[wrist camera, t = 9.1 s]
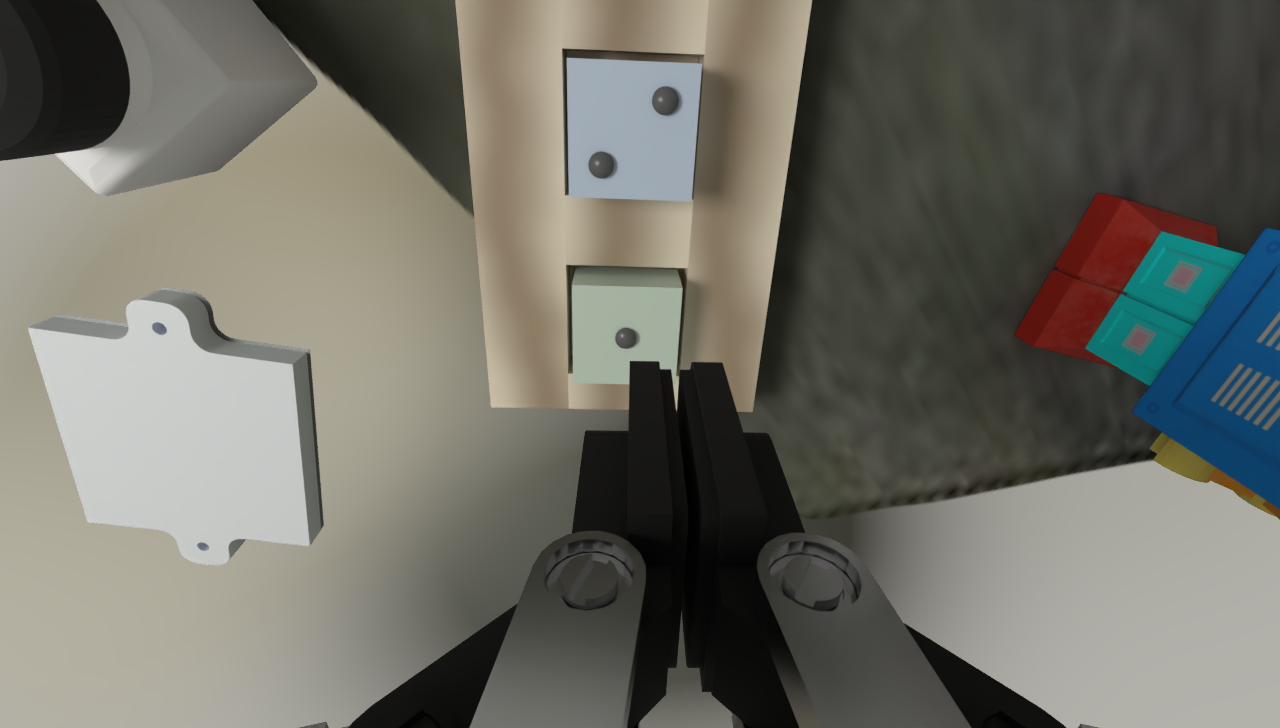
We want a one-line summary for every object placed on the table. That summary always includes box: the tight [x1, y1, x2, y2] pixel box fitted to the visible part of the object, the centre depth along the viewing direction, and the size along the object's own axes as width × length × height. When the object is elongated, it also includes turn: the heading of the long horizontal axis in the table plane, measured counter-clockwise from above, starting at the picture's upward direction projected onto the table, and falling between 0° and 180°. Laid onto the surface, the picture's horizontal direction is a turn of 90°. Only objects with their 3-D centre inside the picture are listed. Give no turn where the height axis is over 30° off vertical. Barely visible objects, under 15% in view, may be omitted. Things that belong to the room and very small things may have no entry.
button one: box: [572, 266, 683, 385], centre depth 28 cm, size 5×5×3 cm
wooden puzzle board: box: [455, 0, 812, 412], centre depth 26 cm, size 14×28×3 cm, turn 178°
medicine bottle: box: [0, 0, 317, 196], centre depth 20 cm, size 7×7×12 cm
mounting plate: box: [28, 288, 324, 565], centre depth 34 cm, size 18×13×2 cm
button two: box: [567, 58, 702, 201], centre depth 24 cm, size 5×5×3 cm
